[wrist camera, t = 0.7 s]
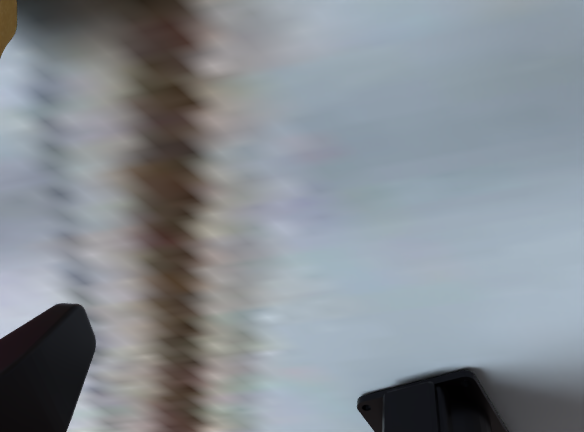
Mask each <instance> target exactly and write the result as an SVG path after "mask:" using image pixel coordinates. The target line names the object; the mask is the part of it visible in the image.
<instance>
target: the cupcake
mask: <svg viewBox="0 0 584 432" xmlns="http://www.w3.org/2000/svg"><path fill="white" fill-rule="evenodd" d="M16 28H17V1H16V0H0V58H1V55H2V53H3V51H4V49H5V47H6V45H7V44H8V43H9V41H10V40H11V39H12V37H13V36H14V34H15V32H16Z"/></svg>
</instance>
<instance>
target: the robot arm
mask: <svg viewBox="0 0 584 432" xmlns="http://www.w3.org/2000/svg"><path fill="white" fill-rule="evenodd" d="M95 348H96V339H95V335H94V332H93V330H92V327H91V325H90V322H89V319H88V317H87V314H86V311H85V309H84V308H83V307H82V306H81V305H79V304H67V303H61V304H56V305H55V306H53V307H51V308H50V309H48V310H46V311H45V312H43V313H42V314H40V315H38V316H37V317H35V318H34V319H32V320H30V321H29V322H27V323H26V324H24V325H22V326H21V327H19V328H17V329H16V330H14V331H13V332H11V333H9V334H8V335H6V336H5V337H3V338H1V339H0V432H66V431H67V429H68V426H69V423H70V421H71V418H72V416H73V413H74V410H75V407H76V404H77V401H78V398H79V395H80V393H81V390H82V387H83V384H84V381H85V378H86V375H87V372H88V370H89V367H90V364H91V361H92V358H93V355H94V352H95ZM357 409H358V410H359V412H360V413H361V414H362V416H363V417H364V418H365V420H366V421H367V422H368V424H369V425H370V426H371V427H372V429H373V430H374V431H375V432H508V430H507V428H506V427H505V425H504V423H503V422H502V420H501V418H500V417H499V415H498V413H497V411H496V410H495V408H494V406H493V405H492V403H491V401H490V400H489V398H488V396H487V395H486V393H485V391H484V390H483V388H482V386H481V384H480V383H479V381H478V379H477V378H476V376H475V374H474V373H473V372H471V371H467V370H463V371H458V372H454V373H450V374H446V375H442V376H438V377H434V378H431V379H427V380H423V381H419V382H415V383H411V384H407V385H403V386H399V387H396V388H392V389H388V390H384V391H380V392H376V393H372V394H368V395H364V396H361V397H359V398H358V401H357Z"/></svg>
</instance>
